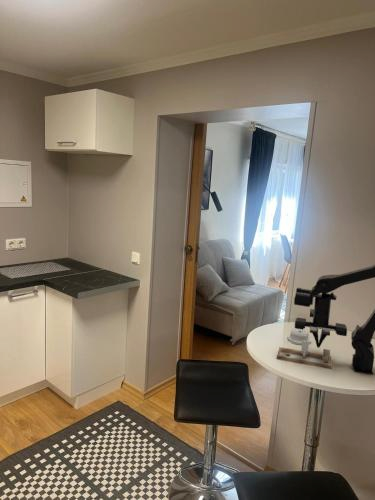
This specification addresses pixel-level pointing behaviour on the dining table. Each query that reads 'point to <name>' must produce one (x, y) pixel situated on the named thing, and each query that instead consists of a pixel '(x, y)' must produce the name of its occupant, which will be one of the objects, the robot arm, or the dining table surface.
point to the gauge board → (306, 357)
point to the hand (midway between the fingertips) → (318, 347)
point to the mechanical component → (298, 336)
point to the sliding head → (304, 348)
